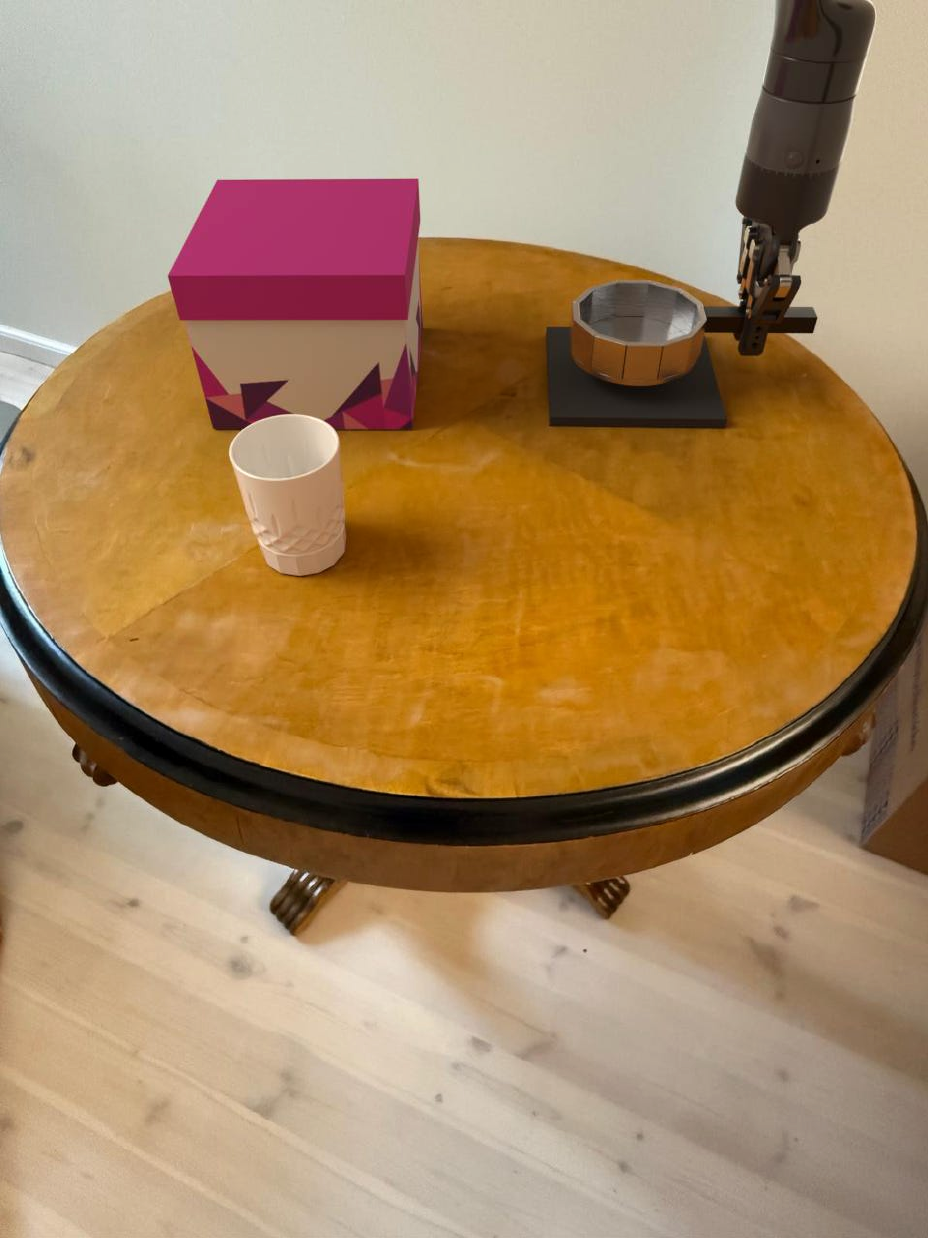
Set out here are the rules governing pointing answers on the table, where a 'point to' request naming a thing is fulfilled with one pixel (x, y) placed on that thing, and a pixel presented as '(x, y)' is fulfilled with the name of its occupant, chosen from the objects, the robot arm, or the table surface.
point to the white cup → (292, 491)
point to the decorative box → (305, 300)
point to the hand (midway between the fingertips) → (747, 345)
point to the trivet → (629, 394)
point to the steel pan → (654, 330)
